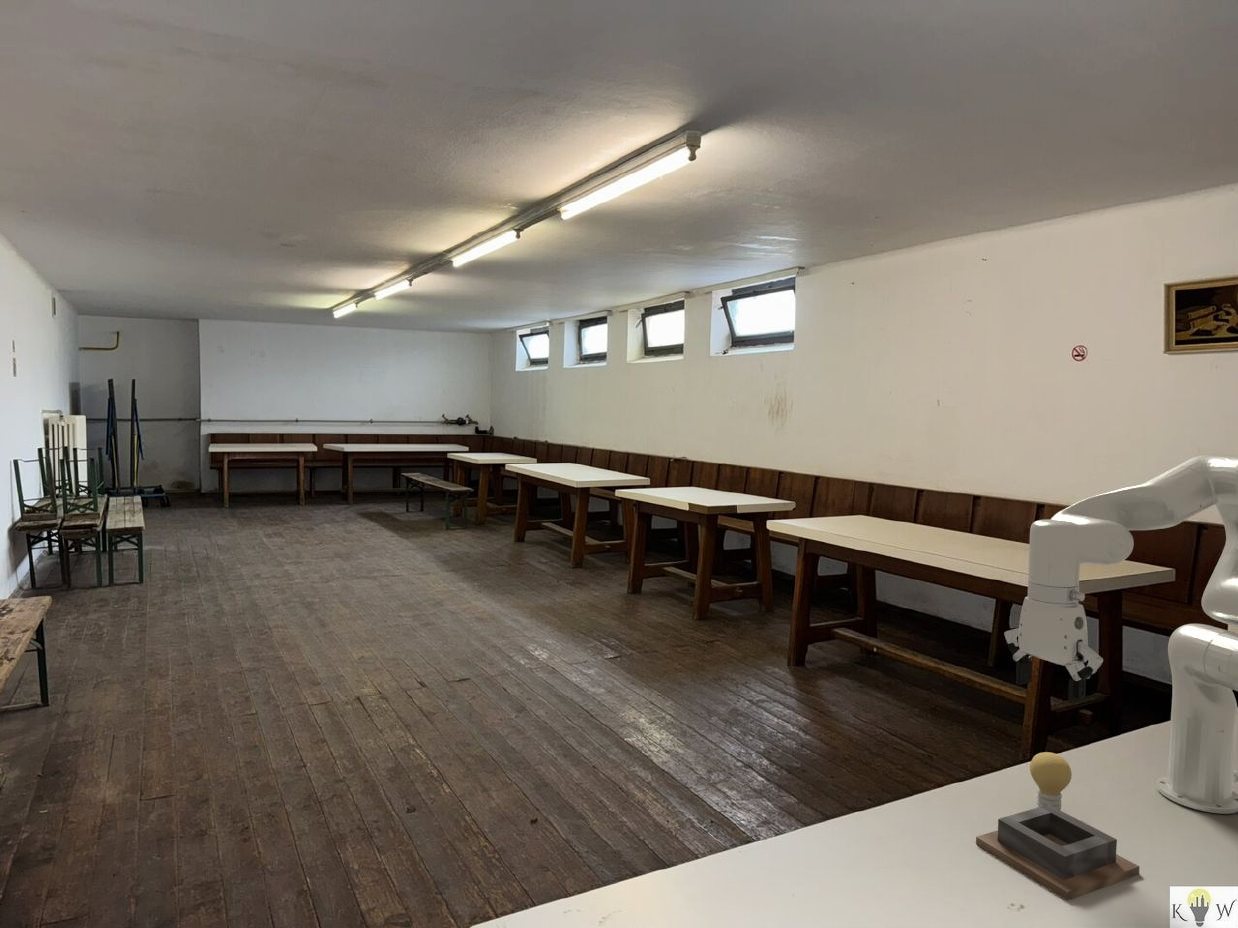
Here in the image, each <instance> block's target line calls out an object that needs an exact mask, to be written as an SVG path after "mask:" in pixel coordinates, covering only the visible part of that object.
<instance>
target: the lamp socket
mask: <svg viewBox="0 0 1238 928" xmlns="http://www.w3.org/2000/svg"><path fill="white" fill-rule="evenodd" d="M997 821H998V822H997V830H995V831H991V832H987V833H985V834H981V835H977V836H976V837H975V839H976V840H975V844H976V845H977V846H979V847H980V848H982V849H984V850H986V851H987V852H989V854H992V855H993V856H995V857H997V858H998V859H1000V860H1001V861H1003V862H1005V863H1006V864H1008V865H1009V866H1011V867H1013V868H1014V869H1016V870H1018V871H1019V872H1021V873H1022V874H1024V875H1025V876H1027V877H1029V878H1031V880H1034V881H1036V882H1037V883H1038V884H1041V885H1042V886H1044V887H1045V888H1047V889H1048V890H1050V891H1052V892H1053V893H1055V894H1057V895H1058V896H1059V897H1061V898H1063V899H1064V900H1066V901H1069V900H1072V899H1074V898H1078V897H1080V896H1083V895H1086V894H1088V893H1090V892H1093V891H1097V890H1099V889H1101V888H1105V887H1106V886H1111V885H1113V884H1115V883H1118V882H1122V881H1124V880H1126V879H1129V878H1132V877H1134V876H1138V875H1140V868H1141V867H1140V865H1138V864H1136V863H1134V862H1133V861H1130V860H1128V859H1126V858H1124V857H1123V856H1121V855H1119V854H1118V853H1117V845H1118V843H1117V842H1118V839H1117V838H1115V837H1113V836H1111V835H1109V834H1107V833H1106V832H1103V831H1101V830H1100V829H1097V828H1095V827H1093V826H1091V825H1089V824H1088V823H1086V822H1083V821H1081V820H1079V819H1077V818H1075V817H1074V816H1073V815H1070V814H1069V813H1066V812H1063V811H1062V810H1058V809H1056V808H1054V807H1052V806H1050V805H1045V806H1041V807H1039V806H1038V807H1035V808H1031V809H1028V810H1025V811H1021V812H1018V813H1014V814H1010V815H1007V816H1004V817H1000V818H998V820H997Z"/></svg>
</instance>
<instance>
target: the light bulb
mask: <svg viewBox="0 0 1238 928" xmlns="http://www.w3.org/2000/svg"><path fill="white" fill-rule="evenodd" d="M1029 771H1030V775H1031V777H1032V779H1033V781H1034V783H1035V784H1036V785H1037V787H1038V789H1037V795H1036V797H1037V799H1036V804H1037V806H1038V807H1041V806H1045V805H1050V806H1052V807H1054V808H1056V809H1058V810H1060V811H1062V797H1063V796H1062V795H1063V794H1062V791H1063V790H1065V789H1066V788H1067V787H1068V785H1069V784H1070V783H1071V780H1072V769H1071V767H1070V764H1069V762H1068V761H1067V760H1066V759H1065V758H1064V757H1062V756H1061V755H1059V754H1057V753H1054V752H1048V751H1045V752H1039V753H1037V754H1035V755H1033V757H1032V759H1031V761H1030V764H1029Z"/></svg>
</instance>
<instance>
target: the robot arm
mask: <svg viewBox="0 0 1238 928" xmlns="http://www.w3.org/2000/svg"><path fill="white" fill-rule="evenodd" d="M1214 505H1215V506H1216V508H1217V510H1218V513H1219V515H1220V518H1221V520H1222V523H1223V526H1224V530H1225V537H1226V538H1225V544H1224V546H1223V549H1222V553H1221V555H1220V556H1219V559H1218V562H1217V564H1216V566H1215V567H1214V570H1213V572H1212V574H1211V576H1210V578H1209V580H1208V582H1207V584H1206V587H1205V589H1204V591H1203V594H1202V597H1201V607H1202V608H1201V609H1202V610H1203V612H1204V613H1205V615H1207V616H1209V617H1210V618H1211V619H1213V620H1215V621H1218V622H1221V623H1223V624H1226V625H1230V626H1234V627H1237V628H1238V455H1234V454H1232V455H1231V454H1229V455H1228V454H1216V453H1215V454H1212V453H1209V454H1207V453H1206V454H1202V455H1201V454H1200V455H1197V456H1194V457H1192V458H1190V459H1188V460H1186V461H1183V462H1182V463H1180V464H1178V465H1176V466H1174V467H1173V468H1170V469H1168V470H1167V471H1165V472H1163V473H1161V474H1159V475H1157V476H1155V477H1153V478H1151V479H1150V480H1148V481H1146V482H1144V483H1141V484H1138V485H1133V486H1129V487H1124V488H1120V489H1117V490H1113V491H1109V492H1105V493H1101V494H1097V495H1093V496H1090V497H1088V498H1085V499H1084V498H1083V499H1082V500H1079V501H1077V502H1074V503H1073V504H1072V505H1070V506H1068V507H1066V508H1064V509H1062V510H1060V511H1058V512H1056V513H1055V514H1054V515H1053V516H1052V517H1051V518H1050V519H1039V520H1036V521H1034V522H1032V524H1031V526H1030V530H1029V545H1028V546H1029V549H1028V573H1027V574H1028V575H1027V576H1028V577H1027V579H1028V580H1027V581H1028V582H1027V596H1025V597H1024V600H1023V603H1022V607H1021V612H1020V616H1019V617H1020V618H1019V625H1018V627H1017V628H1014V629H1010V630H1009V629H1008V630H1006V631H1005V632H1004V633H1003V634H1004V637H1005V640H1006V644H1007V648H1008V649H1009V651H1010V652H1011V654H1012V659H1013V661H1015V664H1016V666H1015V678H1016V679H1015V684H1016V685H1019V686H1021V685H1022V686H1023V685H1026V684H1030V683H1032V681H1033V680H1032V678H1033V660H1032V659H1031V657H1034V658H1038V659H1041V660H1043V661H1048V662H1049V663H1053V664H1055V665H1059V666H1060V665H1061V666H1065V668H1066V670H1067V671H1068V673H1069V675H1070V677H1071V678H1070V679H1069V680H1068V691H1067V692H1068V693H1067V694H1068V695H1067V696H1068V697H1067V701H1068V703H1069V704H1072V705H1075V704H1078V703H1082V702H1084V701H1085V698H1086V693H1087V680H1088V679H1090V678H1091V676H1093V675H1095V674H1096V673H1098V669H1099V668H1100V667H1101V666H1102V664H1103V662H1104V658H1103V657H1101V656H1100V655H1099V654H1098V653H1097V652H1096V651H1095V650H1094V649H1092V648H1091V647H1090V646H1089V639H1088V638H1089V635H1088V634H1089V633H1088V626H1087V625H1088V624H1087V617H1086V611H1085V608H1084V605H1083V604H1081V603H1080V602H1084V600H1085V597H1086V594H1085V593H1083V592H1081V591H1080V569H1081V568H1080V565H1081V564H1090V565H1101V566H1112V565H1116V564H1119V563H1121V562H1123V561H1125V560H1126V559H1128V558H1129V556H1130V555H1131V554H1132V552H1133V549H1134V545H1135V544H1134V543H1135V542H1134V537H1133V535H1132V533H1131V532H1130V531H1152V530H1160V529H1167V528H1171V527H1176V526H1177V525H1179V524H1181V523H1183V522H1184V521H1186V520H1188V519H1190V518H1191V517H1194V516H1196V515H1198V513H1201V512H1203V511H1204V510H1207V509H1208V508H1210V507H1212V506H1214ZM1017 638H1018V639H1017ZM1167 645H1168V646H1167V655H1168V656H1167V657H1168V660H1169V662H1168V663H1169V666H1170V670H1171V671H1170V672H1171V681H1172V697H1171V712H1170V729H1169V730H1170V732H1169V746H1168V747H1169V749H1168V751H1169V753H1168V766H1167V768H1168V769H1167V775H1164V776H1162V777H1159V778H1158V779H1157V783H1156V787H1157V790H1158V791H1159V792H1160V794H1162V796H1164V797H1165V798H1167V799H1169V800H1170V801H1171V802H1175V803H1176V804H1178V805H1181V806H1184V807H1187V808H1190V809H1194V810H1197V811H1201V812H1206V813H1212V814H1219V815H1220V814H1222V815H1223V814H1224V815H1225V814H1226V815H1227V814H1237V813H1238V793H1236V792H1235V791H1234V785H1235V783H1238V770H1237V769H1235V762H1236V761H1235V759H1236V757H1235V756H1236V744H1237V743H1236V741H1237V727H1238V725H1237V724H1238V704H1237V700H1236V697H1235V694H1234V692H1233V690H1234V691H1236V692H1238V633H1236V632H1235V631H1230V630H1226V629H1223V628H1219V627H1217V626H1216V627H1215V626H1213V625H1209V624H1203V623H1188V624H1184V625H1181V626H1179V627H1178V628H1176V629H1175V630H1174V631H1173V632H1172V634H1171V635H1170V637H1169V640H1168V644H1167ZM1087 661H1088V663H1087ZM1084 663H1087V665H1085V664H1084Z"/></svg>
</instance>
